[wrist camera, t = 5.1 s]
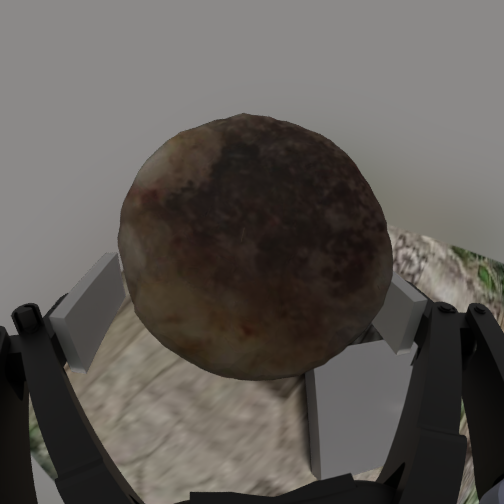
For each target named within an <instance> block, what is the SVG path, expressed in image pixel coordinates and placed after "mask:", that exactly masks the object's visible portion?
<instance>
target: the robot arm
mask: <svg viewBox="0 0 504 504" xmlns="http://www.w3.org/2000/svg"><path fill="white" fill-rule="evenodd" d="M125 297H126V296H125V291H124V286H123V281H122V276H121V270H120V265H119V259H118V253H105V254H104V255H103V256H102V257H101V259H100V260H98V262H97V263H96V264H95V265H94V266H93V267H92V268H91V269H90V270H89V271H88V272H87V273H86V274H85V276H84V277H83V278H82V279H81V280H80V281H79V282H78V283H77V284H76V286H75V287H74V288H73V289H72V290H71V291H70V292H69V293H67V294H65V295H63V296H62V297H60V298H59V300H58V301H57V302H56V303H55V305H53V307H52V308H51V309H50V310H49V311H48V312H47V314H46V315H45V316H44V317H43V318H42V315H41V312H40V310H39V307H38V305H37V304H34V303H28V304H24V305H22V306H19V307H18V308H17V309H15V310H14V311H13V313H12V315H11V317H12V319H13V322H14V324H15V327H16V329H17V331H18V334H19V335H12V336H9V335H8V333H7V331H6V329H5V327H3V326H0V504H38V502H37V497H36V491H35V486H34V480H33V473H32V464H31V454H30V441H29V393H30V397H31V401H32V405H33V408H34V412H35V415H36V418H37V422H38V425H39V428H40V431H41V434H42V436H43V439H44V442H45V445H46V447H47V450H48V453H49V455H50V457H51V460H52V462H53V465H54V467H55V469H56V471H57V474H58V478H57V479H55V484H56V487H57V489H58V492H59V493H60V496H61V498H62V499H63V502H64V503H65V504H145V503H144V502H143V501H142V500H141V499H140V497H139V496H138V495H137V494H136V493H135V491H134V490H133V489H132V487H131V486H130V485H129V483H128V482H127V481H126V479H125V478H124V477H123V475H122V474H121V472H120V471H119V469H118V468H117V466H116V465H115V464H114V462H113V460H112V459H111V457H110V456H109V454H108V453H107V451H106V450H105V448H104V446H103V445H102V443H101V441H100V440H99V438H98V436H97V434H96V433H95V431H94V429H93V427H92V426H91V424H90V422H89V420H88V418H87V416H86V414H85V412H84V410H83V408H82V406H81V404H80V402H79V400H78V398H77V396H76V394H75V392H74V390H73V387H72V385H71V383H70V381H69V378H68V376H67V374H66V372H65V370H64V365H65V364H66V362H68V365H69V367H70V369H71V371H72V372H78V373H86V374H87V371H88V369H89V367H90V365H91V363H92V361H93V359H94V356H95V354H96V352H97V350H98V348H99V346H100V344H101V342H102V340H103V338H104V336H105V334H106V332H107V330H108V328H109V326H110V324H111V323H112V321H113V319H114V317H115V315H116V313H117V311H118V309H119V308H120V306H121V304H122V302H123V300H124V298H125ZM371 323H372V324H373V326H374V327H375V328H376V329H377V331H378V332H379V333H380V335H381V336H382V337H383V339H384V340H385V341H386V342H387V344H388V345H389V346H390V348H391V349H392V350H393V352H394V353H395V354H396V356H397V355H401V354H405V353H409V352H410V350H411V347H412V345H413V342H415V343H416V344H417V345H418V348H417V350H416V353H415V355H414V358H413V360H412V362H411V365H410V366H413V368H412V373H411V378H410V382H409V386H408V391H407V395H406V399H405V403H404V406H403V410H402V414H401V417H400V420H399V424H398V427H397V430H396V433H395V436H394V439H393V442H392V445H391V448H390V451H389V454H388V456H387V459H386V462H385V464H384V467H383V469H382V471H381V473H380V475H379V477H378V478H377V480H376V481H375V482H374V481H366V480H354V479H353V477H352V474H351V473H347V474H344V475H340V476H336V477H332V478H328V479H324V480H319V481H314V482H312V483H310V484H308V485H305V486H303V487H300V488H298V489H296V490H293V491H290V492H288V493H285V494H282V495H280V496H276V497H267V496H257V495H249V494H242V493H235V492H190V500H187V501H182V502H178V503H175V504H457V500H458V496H459V491H460V486H461V481H462V476H463V470H464V464H465V457H466V449H467V438H466V436H465V435H459V427H460V415H461V397H462V399H463V403H464V408H465V413H466V418H467V423H468V429H469V435H470V441H471V448H472V456H473V465H474V476H475V485H476V490H477V495H478V499H479V504H504V333H503V331H502V329H501V328H500V326H499V324H498V323H497V321H496V319H495V318H494V316H493V315H492V313H491V311H490V310H489V309H488V308H487V307H485V305H483V304H480V303H479V304H478V303H471V304H469V306H468V309H467V312H466V313H458V311H457V309H456V308H455V307H454V306H452V305H451V304H448V303H445V302H435V303H434V302H433V301H432V300H431V299H430V298H429V297H427V296H426V295H425V294H424V293H423V292H422V293H421V291H420V290H419V289H417V287H415V286H414V285H413V284H412V283H410V282H408V281H406V280H404V279H403V278H401V277H400V276H399V275H398V274H397V273H395V272H394V271H393V277H392V280H391V284H390V287H389V289H388V291H387V294H386V298H385V302H384V305H383V307H382V308H381V310H380V311H379V312H378V314H377V315H376V317H375V318H374V319H373V321H372V322H371Z"/></svg>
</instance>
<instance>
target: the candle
mask: <svg viewBox="0 0 504 504" xmlns="http://www.w3.org/2000/svg"><path fill="white" fill-rule="evenodd" d="M118 248H119V252H120V256H121V260H122V264H123V269H124V273H125V278H126V282H127V286H128V290H129V293H130V296H131V299H132V302H133V304H134V309H135V313H136V315H137V316H138V317H139V319H140V320H141V321H142V323H143V324H144V326H145V327H146V328H147V329H148V330H149V332H150V333H151V334H152V335H153V336H154V337H155V338H156V339H157V340H158V341H159V342H160V343H161V344H163V345H164V346H165V347H166V348H168V349H169V350H171V351H172V352H174V353H176V354H177V355H179V356H180V357H182V358H184V359H185V360H187V361H188V362H190V363H192V364H194V365H196V366H198V367H199V368H201V369H203V370H205V371H208V372H210V373H213V374H216V375H219V376H221V377H225V378H234V379H238V380H250V381H261V380H276V379H281V378H287V377H295V376H299V375H301V374H304V373H306V372H308V371H310V370H312V369H315V368H317V367H320V366H322V365H325V364H326V363H327V362H328V361H329V360H330V359H332V358H333V357H335V356H337V355H338V354H340V353H341V352H343V351H344V350H345V349H346V348H347V346H349V345H350V344H351V343H352V342H353V341H354V340H356V339H357V338H358V337H359V336H360V335H361V334H362V333H363V332H364V331H365V329H366V328H367V327H368V326H369V325H370V323H371V322H372V321H373V319H374V318H375V317H376V315H377V314H378V312H379V311H380V310H381V308H382V307H383V305H384V302H385V298H386V294H387V291H388V289H389V287H390V284H391V280H392V277H393V254H392V245H391V240H390V237H389V234H388V231H387V222H386V220H385V218H384V214H383V211H382V208H381V206H380V204H379V202H378V201H377V199H376V197H375V196H374V194H373V191H372V189H371V187H370V185H369V184H368V182H367V181H366V180H365V178H364V177H363V176H362V174H361V172H360V171H359V169H358V167H357V166H356V164H355V163H354V162H353V161H352V159H351V158H350V157H349V156H348V155H347V154H346V153H345V152H344V151H343V150H341V149H340V148H339V147H338V146H336V145H335V144H334V143H333V142H332V141H331V140H329V139H327V138H326V137H324V136H322V135H321V134H318V133H316V132H313V131H310V130H307V129H305V128H303V127H301V126H299V125H296V124H293V123H290V122H287V121H280V120H276V119H274V118H272V117H267V116H258V115H250V114H245V113H242V114H238V115H235V116H232V117H229V118H227V119H219V120H214V121H212V122H209V123H206V124H203V125H201V126H198V127H196V128H192V129H189V130H186V131H182V132H180V133H178V134H177V135H176V136H174V137H173V138H171V139H169V140H168V141H167V142H165V143H164V144H163V145H162V146H161V147H160V148H159V149H158V150H157V151H156V152H155V153H154V154H153V155H152V156H151V157H149V159H147V160H146V162H145V163H144V164H143V166H142V167H141V169H140V170H139V172H138V174H137V176H136V178H135V180H134V182H133V184H132V186H131V188H130V190H129V192H128V194H127V196H126V198H125V200H124V202H123V206H122V209H121V217H120V228H119V233H118Z"/></svg>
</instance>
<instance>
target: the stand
mask: <svg viewBox="0 0 504 504" xmlns="http://www.w3.org/2000/svg"><path fill="white" fill-rule="evenodd" d="M417 348H418V345H417V344H416V343H415V342H413V345H412V347H411V350H410V352H409V353H405V354H401V355H397V356H396V354H395V353H394V352H393V350H392V349H391V348H390V346H389V345H388V344H387V342H386V341H385V340H379V341H374V342H368V343H363V344H357V345H351V346H347V348H346V349H345V350H344V351H343V352H341V353H340V354H338V355H337V356H335V357H333V358H332V359H330V360H329V361H328V362H327V363H326V364H325V365H322V366H320V367H317V368H315V369H312V370H310V371H308V372H306V373H305V382H306V394H307V406H308V420H309V435H310V451H311V471H312V474H313V475H314V476H315V477H316V478H317V479H318V480H324V479H328V478H332V477H336V476H340V475H344V474H347V473H351V474H352V476H353V475H356V474H359V473H363V472H366V471H369V470H372V469H375V468H378V467H381V466H383V465H384V464H385V462H386V459H387V456H388V454H389V451H390V448H391V445H392V442H393V439H394V436H395V433H396V430H397V427H398V424H399V420H400V417H401V414H402V410H403V406H404V403H405V399H406V395H407V391H408V386H409V382H410V378H411V373H412V368H413V366H410V365H411V362H412V360H413V358H414V355H415V353H416V350H417Z"/></svg>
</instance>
